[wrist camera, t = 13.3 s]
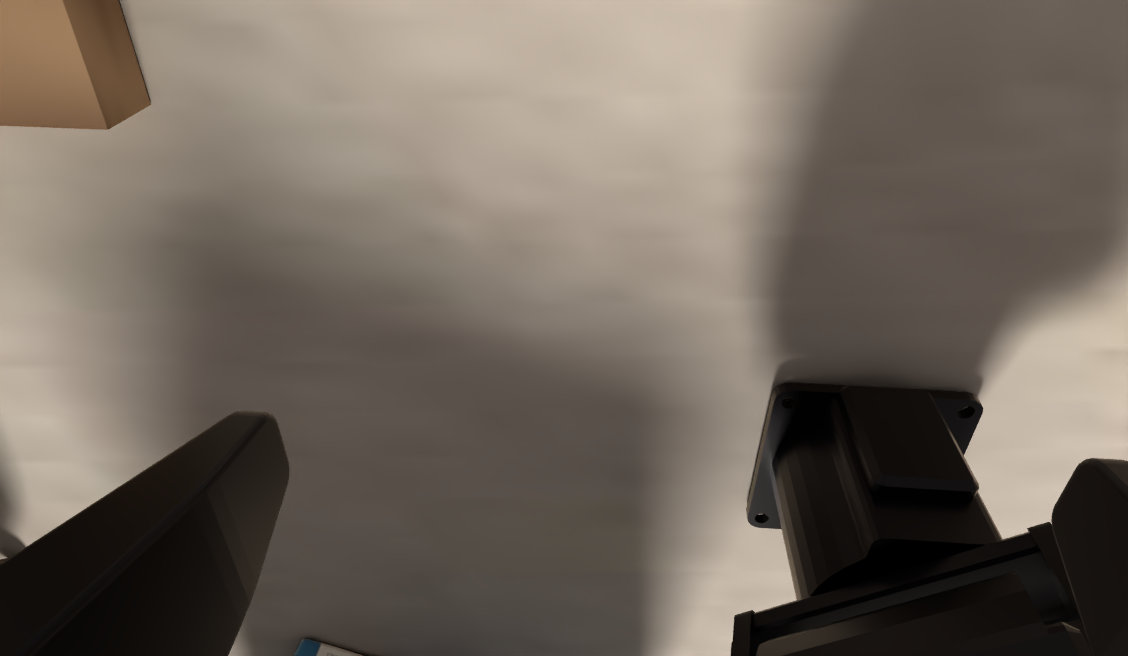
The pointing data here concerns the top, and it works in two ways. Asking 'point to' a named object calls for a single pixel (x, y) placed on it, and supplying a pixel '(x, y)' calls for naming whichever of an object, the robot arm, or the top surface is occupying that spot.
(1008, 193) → the top surface
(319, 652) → the toothbrush box
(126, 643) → the robot arm
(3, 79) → the tan slab
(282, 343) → the top surface
